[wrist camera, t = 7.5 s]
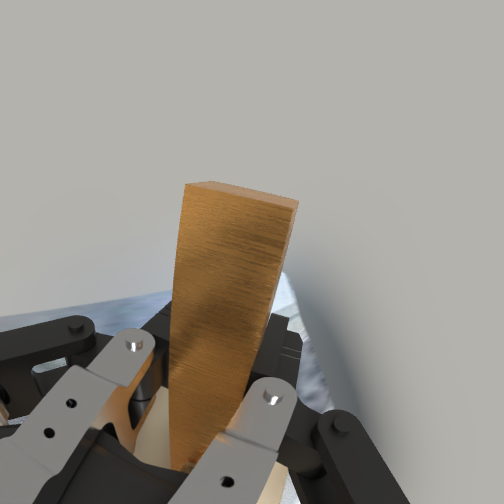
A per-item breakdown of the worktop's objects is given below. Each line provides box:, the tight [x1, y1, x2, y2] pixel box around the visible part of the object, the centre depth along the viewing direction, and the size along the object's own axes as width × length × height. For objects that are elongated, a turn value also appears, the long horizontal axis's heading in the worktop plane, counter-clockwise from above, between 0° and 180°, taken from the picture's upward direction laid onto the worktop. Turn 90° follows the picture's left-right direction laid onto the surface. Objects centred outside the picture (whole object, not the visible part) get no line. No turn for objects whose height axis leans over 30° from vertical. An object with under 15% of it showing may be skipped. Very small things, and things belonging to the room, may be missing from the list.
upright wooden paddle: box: [168, 181, 299, 474], centre depth 8 cm, size 4×10×15 cm, turn 166°
